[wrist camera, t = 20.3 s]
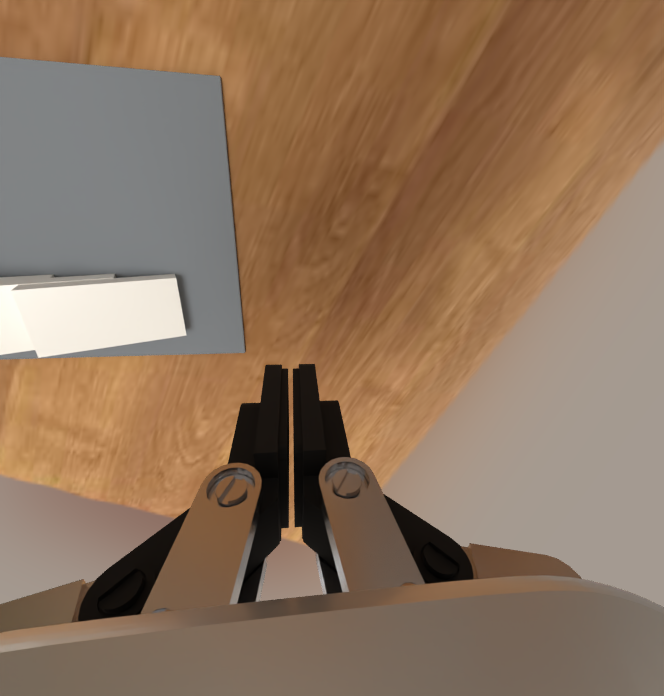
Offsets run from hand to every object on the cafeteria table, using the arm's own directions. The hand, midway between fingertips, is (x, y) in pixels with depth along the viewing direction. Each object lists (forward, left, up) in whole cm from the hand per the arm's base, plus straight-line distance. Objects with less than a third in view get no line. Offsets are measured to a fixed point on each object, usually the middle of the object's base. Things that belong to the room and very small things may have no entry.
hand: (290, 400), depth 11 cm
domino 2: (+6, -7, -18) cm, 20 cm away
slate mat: (+6, -16, -19) cm, 26 cm away
